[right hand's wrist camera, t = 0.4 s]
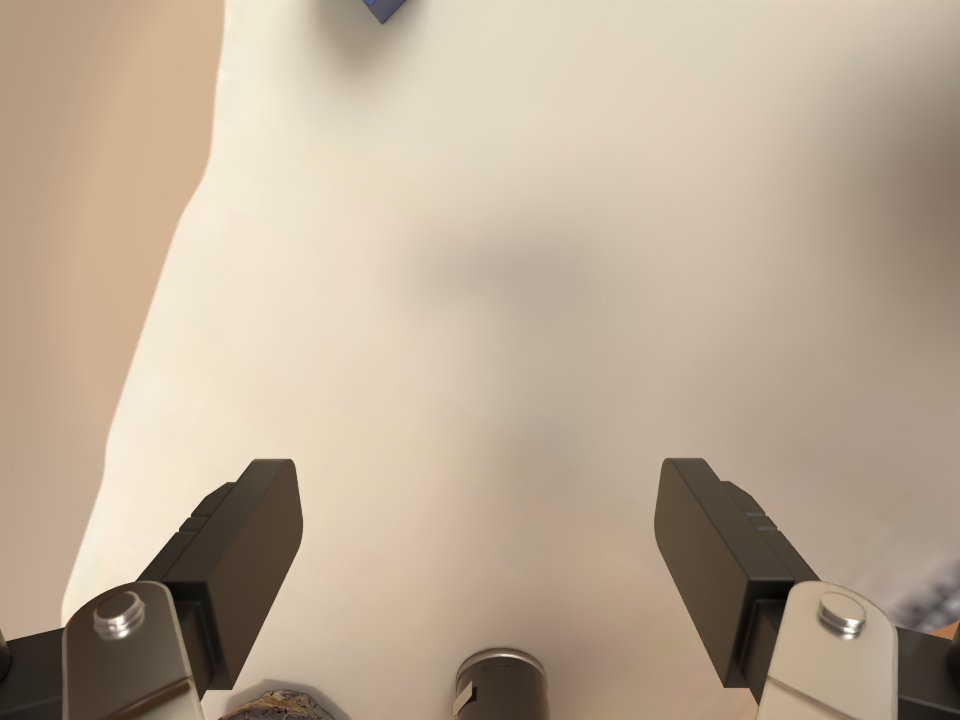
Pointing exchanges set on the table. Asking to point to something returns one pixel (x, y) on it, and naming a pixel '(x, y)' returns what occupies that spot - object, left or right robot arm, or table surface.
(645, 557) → the table surface
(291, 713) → the miniature building
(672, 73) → the table surface
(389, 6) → the block
